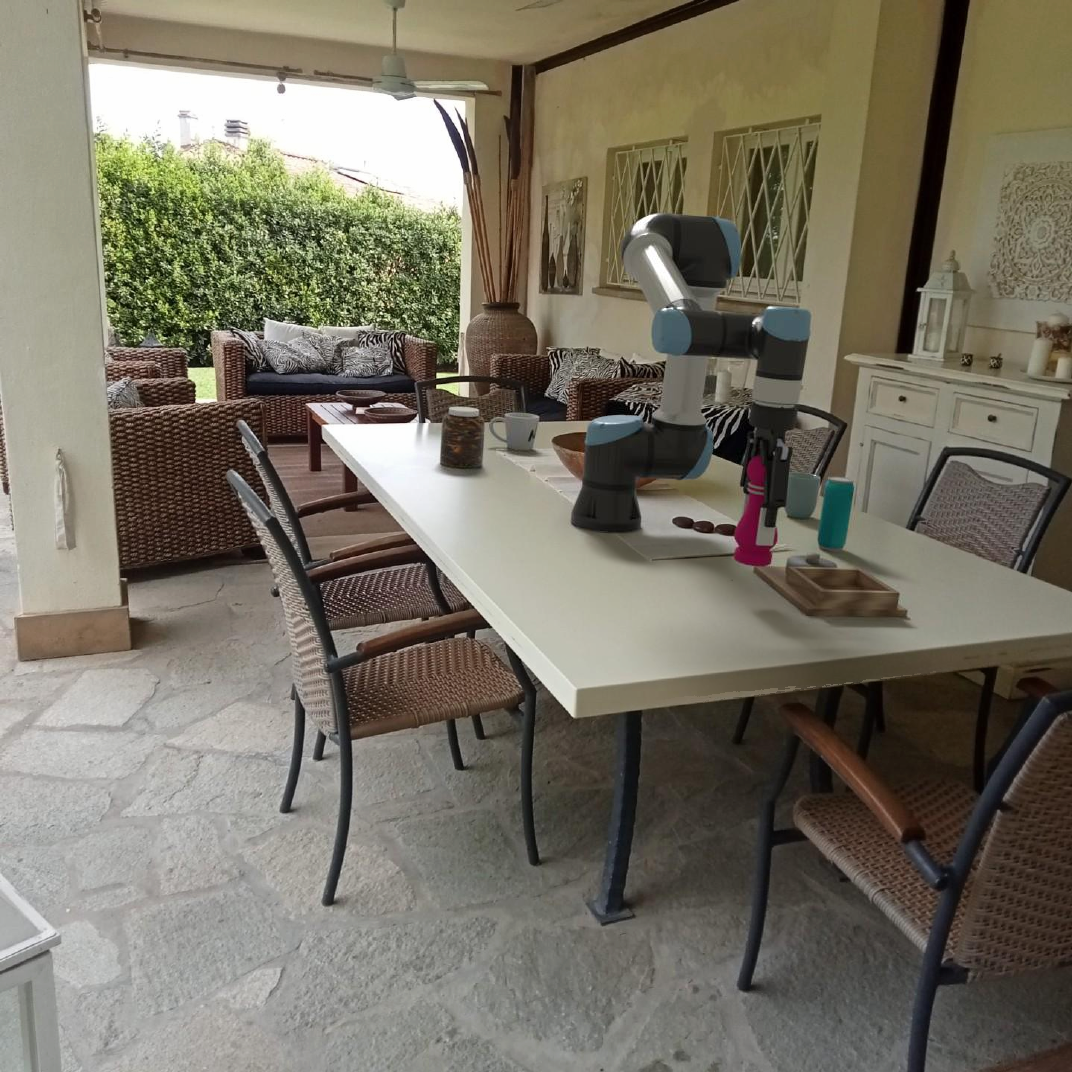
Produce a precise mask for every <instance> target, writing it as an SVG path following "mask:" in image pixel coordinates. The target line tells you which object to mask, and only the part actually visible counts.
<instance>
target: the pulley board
mask: <svg viewBox="0 0 1072 1072" xmlns="http://www.w3.org/2000/svg"><path fill="white" fill-rule="evenodd" d="M785 564H786V565H785V566H777V565H776V566H773V565H772V566H771V565H768V566H753V573H754V574H755V575H756V576H757V577H759V578H760V579H761V580H762V581H764V582H765V583H766V584H768V585H769V586H770V587H771V588H772V589H773V590H774V591H776V592H777V593H778V594H780V595H781V596H782V597H783V598H784V599H786V601H788V602H789V603H791V605H793V606H794V607H796V609H798V610H799V611H800V612H802V613H803V614H804V615H806V616H817V617H818V616H825V617H828V616H829V617H830V616H831V617H835V616H836V617H882V618H883V617H887V618H888V617H889V618H895V617H896V618H907V616H908V609H906V608H905V607H903V606H902V605H901V604H899V600H900V596H901V595H900V592H899V591H897V590H896V589H894V588H893V587H891V586H889V585H887V584H886V583H885V582H883V581H881V580H880V579H878V578H876V577H875V576H874V575H872V574H871V573H870V572H869V573H868V572H867V571H866V570H864V569H862V568H860V567H838V564H837V563H835V562H834V561H832V560H830V559H826V558H822V557H821V554H820V553H817V552H806V555H791V556H788V557H787V558H786V563H785Z"/></svg>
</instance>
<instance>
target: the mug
mask: <svg viewBox="0 0 1072 1072" xmlns="http://www.w3.org/2000/svg"><path fill="white" fill-rule="evenodd" d="M539 421H540V416H539V415H536V414H533V413H528V412H527V413H526V412H508V413H505V414H504V417H501V416H496V417H493V418H492V419H491V420H490V422H489V423H488V427H489V431H490V433H491V434H492V436H493V437H494V438H495V439H497V440H498V441H500V442H503V443H505V444H506V446H507V448H508V449H510V450H513V449H517V450H516V451H523V450H524V451H530V450H529V449H531V450H533V449H534V443H535V439H536V435H537V430H538V428H539V427H538V425H539ZM496 422H502V423H504V424H505V435H506V436H505V437H506V438H504V437H502V436H500V435H499V434H498V433H497V432H496V431H495V429H494V424H495V423H496Z"/></svg>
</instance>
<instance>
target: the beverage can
mask: <svg viewBox="0 0 1072 1072" xmlns="http://www.w3.org/2000/svg"><path fill="white" fill-rule="evenodd" d="M854 482H855V481H854V479H853V478H849V477H845V476H835V475H834V476H828V477H827V481H826V483H825V485H824V486H825V487H824V492H823V499H822V504H821V511H820V519H819V524H818V525H819V526H818V532H817V539H816V540H817V544H818V547H819V549H821V550H823V551H826V552H827V551H828V552H831V553H832V552H835V553H837V552H841V551H842V550H843V549H844V547H845V545H846V543H847V538H848V536H847V535H848V530H849V526H850V525H849V523H850V517H851V512H852V506H853V498H854V492H855V487H854V486H855V484H854Z"/></svg>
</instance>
